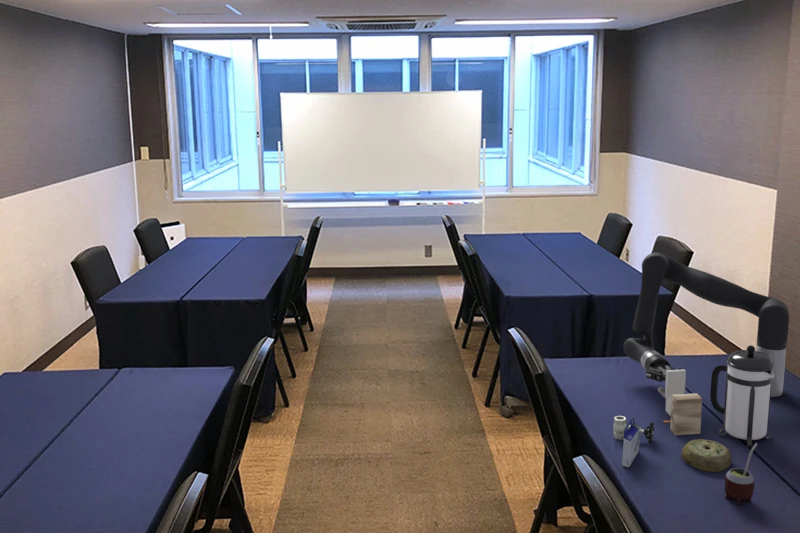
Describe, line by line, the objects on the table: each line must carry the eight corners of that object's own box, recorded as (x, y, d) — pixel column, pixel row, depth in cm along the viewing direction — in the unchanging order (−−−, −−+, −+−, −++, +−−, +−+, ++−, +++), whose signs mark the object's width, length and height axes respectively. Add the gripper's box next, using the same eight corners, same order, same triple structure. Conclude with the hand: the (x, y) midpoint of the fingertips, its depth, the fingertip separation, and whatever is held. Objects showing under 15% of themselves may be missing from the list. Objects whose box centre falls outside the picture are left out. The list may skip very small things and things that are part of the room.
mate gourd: (724, 504, 191) (727, 452, 188) (723, 489, 198) (726, 439, 195) (755, 509, 188) (759, 456, 185) (753, 494, 195) (757, 442, 192)
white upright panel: (664, 410, 240) (666, 370, 237) (682, 409, 240) (684, 369, 237) (669, 415, 236) (670, 375, 233) (687, 414, 237) (689, 374, 233)
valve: (610, 440, 228) (651, 447, 223) (611, 421, 227) (651, 427, 221) (614, 431, 234) (654, 438, 229) (615, 412, 232) (654, 418, 227)
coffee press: (767, 427, 232) (774, 338, 225) (774, 450, 217) (782, 356, 210) (708, 421, 238) (713, 334, 231) (711, 444, 223) (717, 351, 216)
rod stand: (648, 404, 252) (649, 372, 249) (671, 403, 252) (672, 371, 249) (675, 435, 230) (676, 399, 227) (700, 433, 230) (702, 398, 227)
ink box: (629, 468, 211) (631, 431, 209) (621, 466, 212) (622, 430, 210) (640, 451, 221) (641, 416, 218) (632, 449, 222) (633, 414, 219)
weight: (739, 472, 206) (740, 456, 205) (691, 474, 207) (692, 458, 206) (719, 450, 220) (720, 434, 218) (674, 451, 220) (675, 436, 219)
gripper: (636, 354, 254) (654, 373, 237) (674, 352, 254) (695, 371, 237) (635, 375, 256) (654, 394, 239) (673, 373, 256) (694, 392, 239)
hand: (674, 383), depth 238 cm, fingers closed
